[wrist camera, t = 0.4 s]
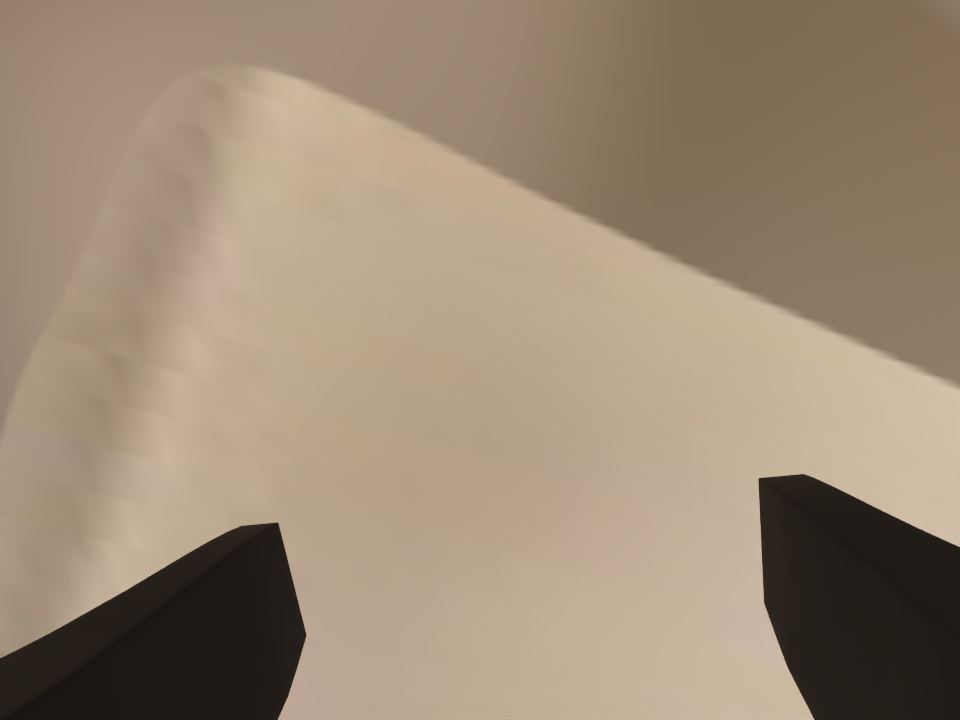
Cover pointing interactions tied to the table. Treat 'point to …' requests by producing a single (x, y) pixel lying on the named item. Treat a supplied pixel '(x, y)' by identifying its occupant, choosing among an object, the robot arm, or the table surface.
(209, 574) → the robot arm
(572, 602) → the table surface
